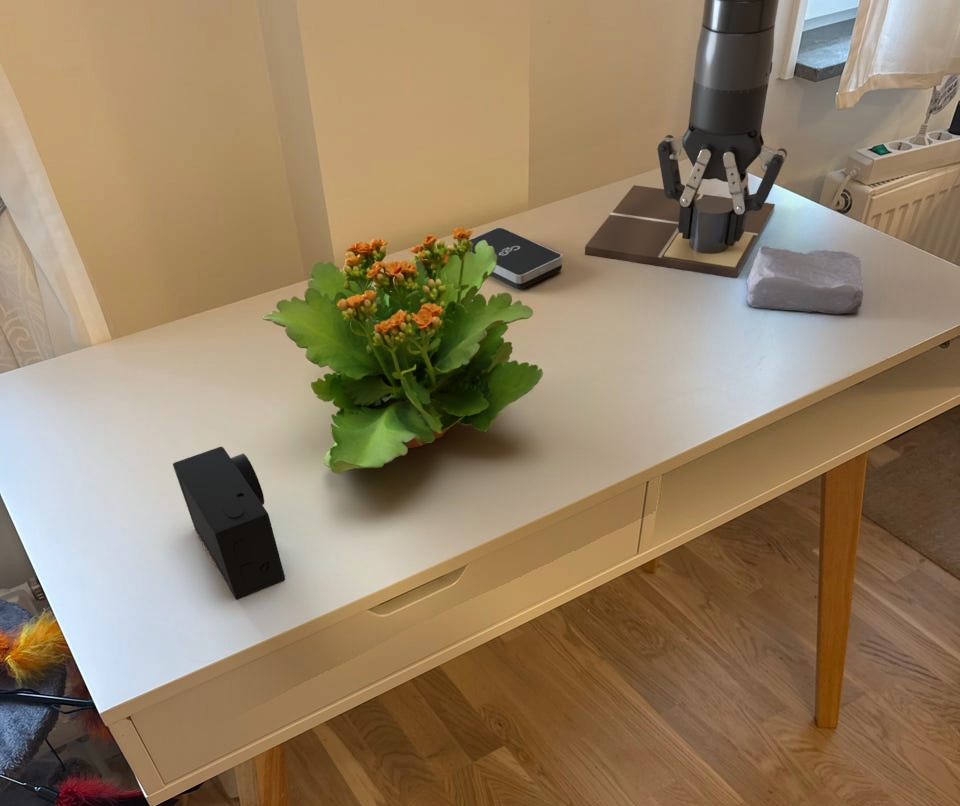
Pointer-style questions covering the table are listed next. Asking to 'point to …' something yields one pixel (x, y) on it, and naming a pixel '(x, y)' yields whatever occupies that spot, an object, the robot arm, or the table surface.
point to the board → (668, 235)
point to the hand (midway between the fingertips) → (709, 239)
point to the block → (805, 281)
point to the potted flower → (407, 346)
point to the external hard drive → (519, 258)
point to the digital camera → (231, 519)
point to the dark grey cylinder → (710, 224)
